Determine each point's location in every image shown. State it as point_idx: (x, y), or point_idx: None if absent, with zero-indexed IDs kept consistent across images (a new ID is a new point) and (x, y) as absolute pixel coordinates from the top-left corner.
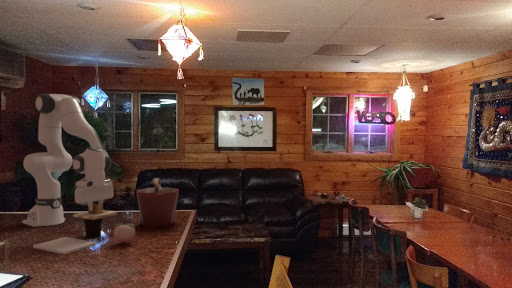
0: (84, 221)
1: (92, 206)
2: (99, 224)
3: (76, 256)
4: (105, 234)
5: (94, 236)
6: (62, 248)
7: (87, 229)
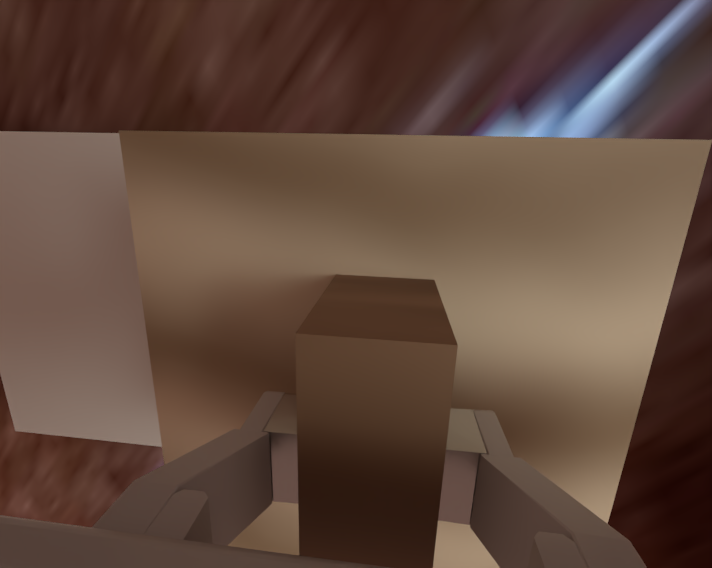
0: None
1: (249, 518)
2: None
3: (55, 494)
4: None
5: None
6: (38, 373)
7: None
